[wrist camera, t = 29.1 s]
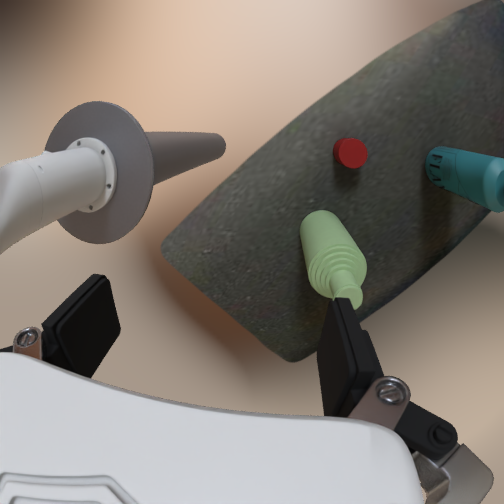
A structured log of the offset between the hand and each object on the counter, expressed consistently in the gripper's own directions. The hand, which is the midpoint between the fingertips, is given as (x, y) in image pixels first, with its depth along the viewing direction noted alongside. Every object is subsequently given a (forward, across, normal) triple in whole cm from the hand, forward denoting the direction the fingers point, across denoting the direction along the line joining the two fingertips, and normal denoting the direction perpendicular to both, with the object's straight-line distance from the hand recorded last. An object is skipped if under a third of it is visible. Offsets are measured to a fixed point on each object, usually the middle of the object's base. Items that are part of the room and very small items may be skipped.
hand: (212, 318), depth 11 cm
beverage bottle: (+30, -27, -7) cm, 41 cm away
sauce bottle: (+30, -10, +6) cm, 32 cm away
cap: (+30, -12, -6) cm, 33 cm away
